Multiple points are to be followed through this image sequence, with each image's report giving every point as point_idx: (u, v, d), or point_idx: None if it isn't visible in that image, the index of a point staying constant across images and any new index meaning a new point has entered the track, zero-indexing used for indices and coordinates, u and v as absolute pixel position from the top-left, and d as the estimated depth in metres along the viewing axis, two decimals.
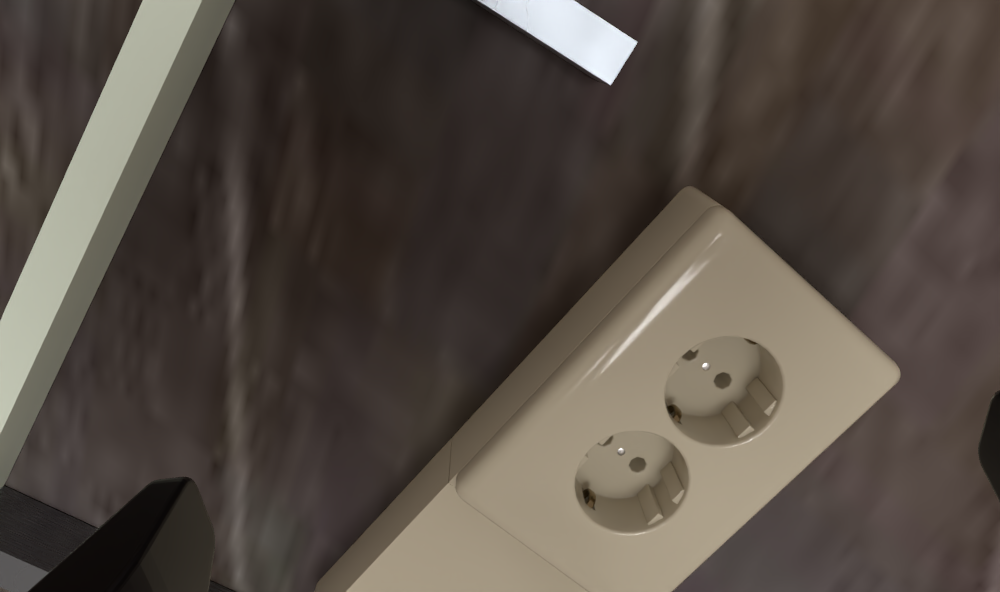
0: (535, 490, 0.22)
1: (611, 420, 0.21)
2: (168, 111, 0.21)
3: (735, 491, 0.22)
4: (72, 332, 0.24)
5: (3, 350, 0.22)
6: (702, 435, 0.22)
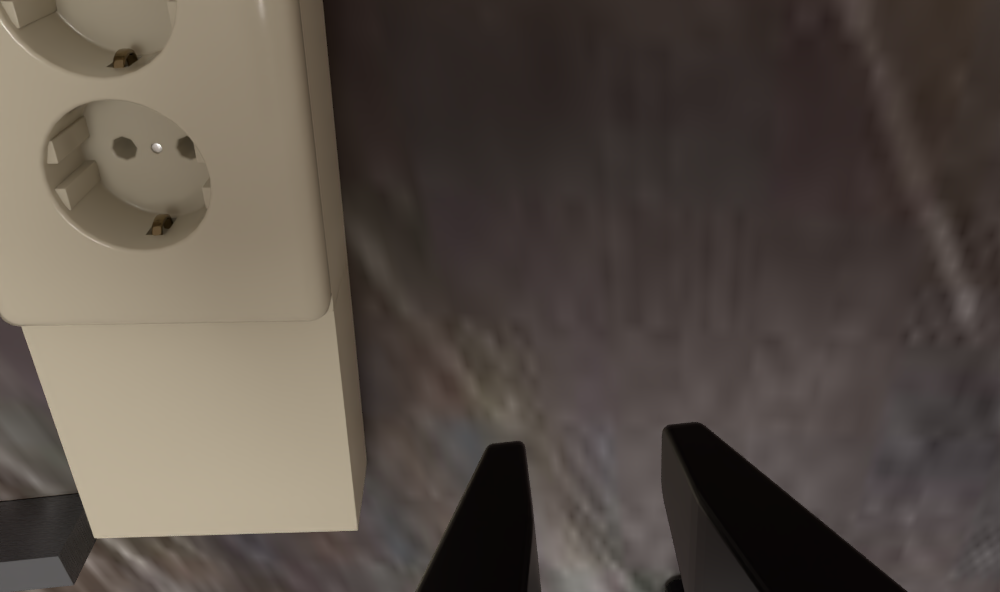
0: (54, 265, 0.17)
1: (19, 129, 0.15)
2: None
3: (236, 95, 0.15)
4: None
5: None
6: (151, 59, 0.15)
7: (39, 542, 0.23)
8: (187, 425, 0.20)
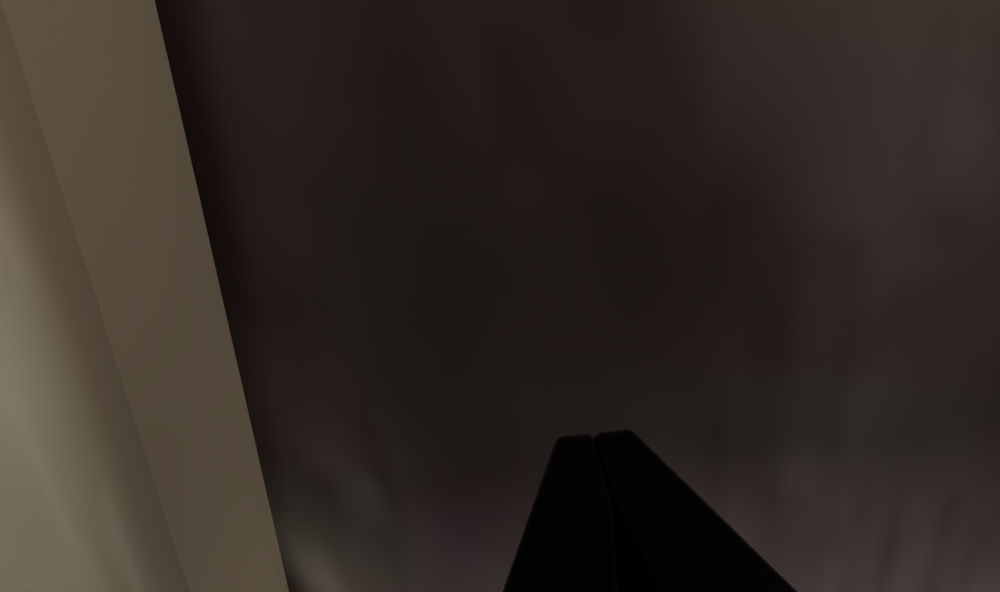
0: None
1: None
2: None
3: None
4: None
5: None
6: None
7: None
8: None
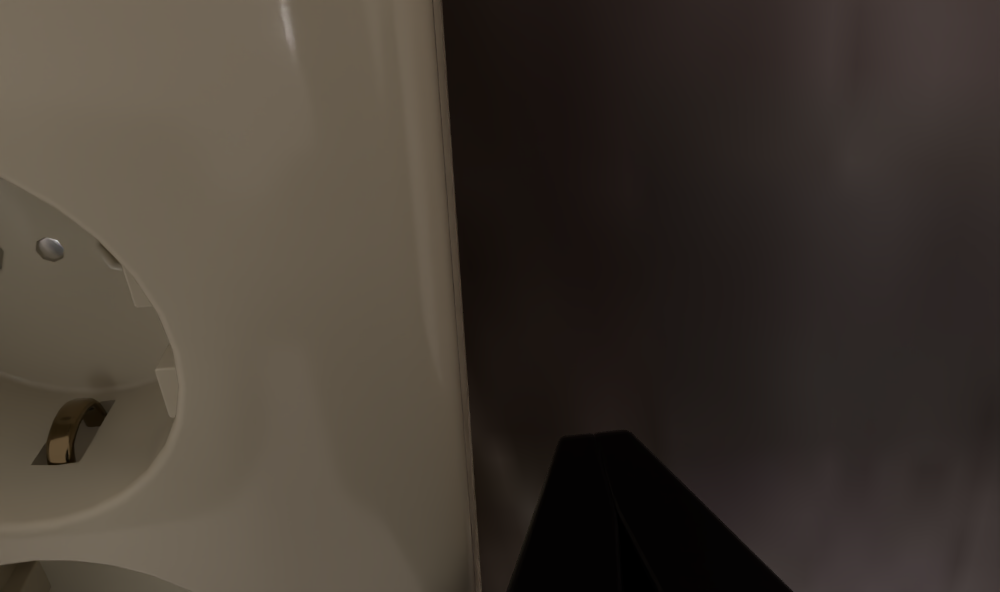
0: None
1: None
2: None
3: (323, 537, 0.07)
4: None
5: None
6: (128, 457, 0.07)
7: None
8: None
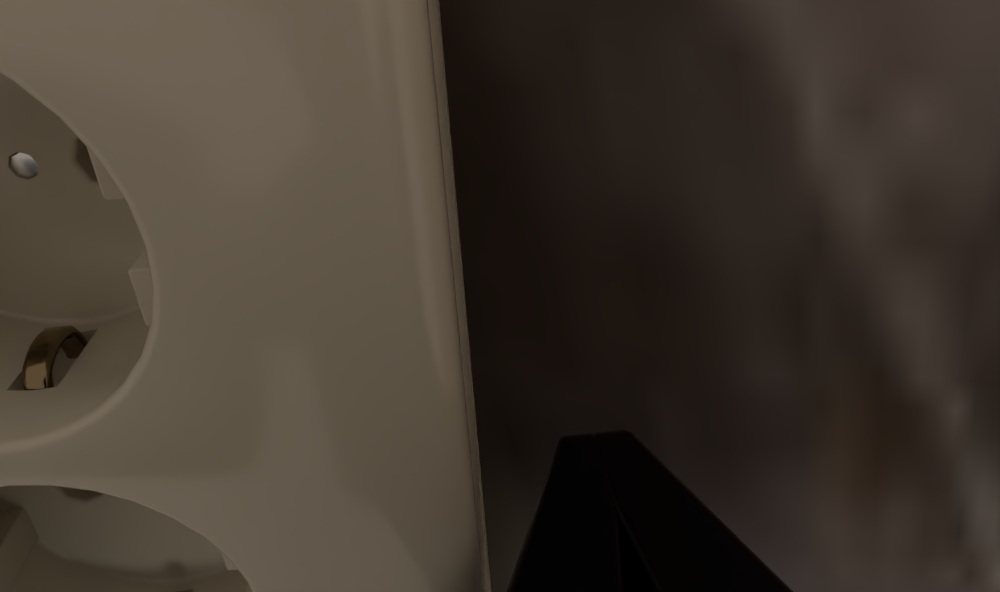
0: None
1: None
2: None
3: (312, 457, 0.06)
4: None
5: None
6: (108, 377, 0.06)
7: None
8: None
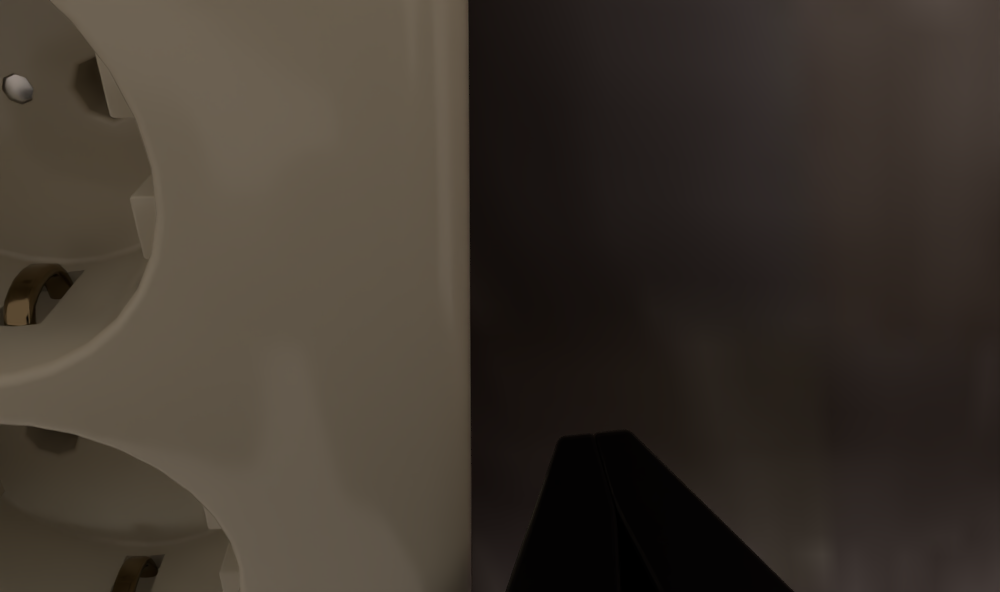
0: None
1: None
2: None
3: (310, 410, 0.06)
4: None
5: None
6: (96, 315, 0.06)
7: None
8: None
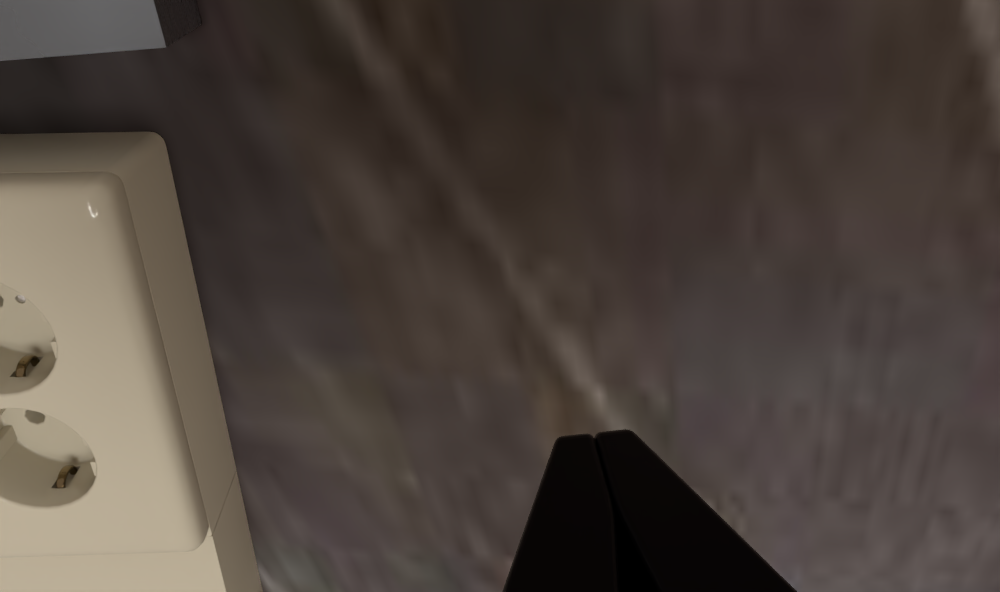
0: None
1: None
2: None
3: (109, 403, 0.19)
4: None
5: None
6: (44, 374, 0.19)
7: None
8: None
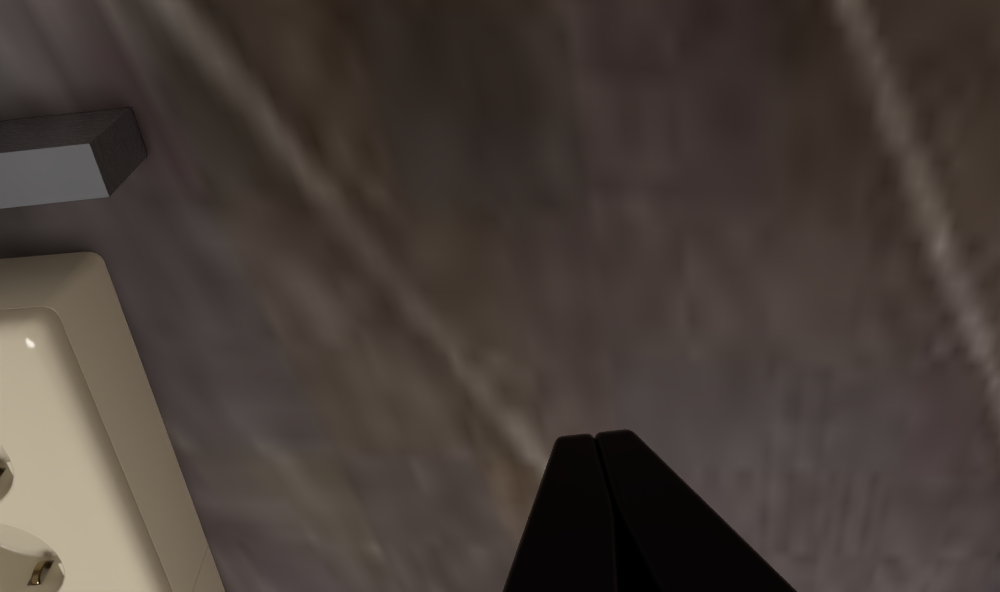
0: None
1: None
2: None
3: (68, 513, 0.20)
4: None
5: None
6: (5, 488, 0.20)
7: None
8: None
